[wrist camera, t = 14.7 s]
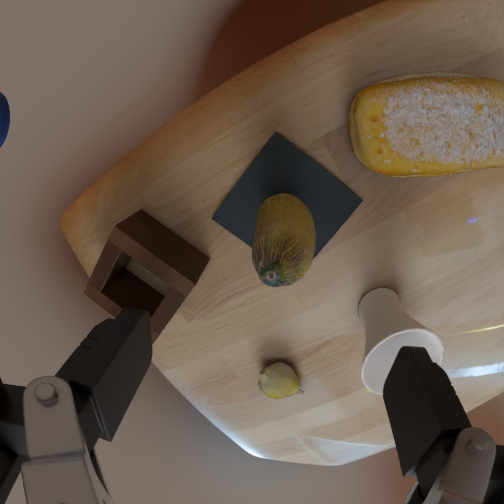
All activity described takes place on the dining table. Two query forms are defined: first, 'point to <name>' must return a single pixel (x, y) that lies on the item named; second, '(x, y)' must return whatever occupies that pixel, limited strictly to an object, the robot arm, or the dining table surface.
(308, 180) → the mat
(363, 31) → the dining table surface
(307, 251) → the vegetable
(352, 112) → the bread
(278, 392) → the fruit
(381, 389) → the cup
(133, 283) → the holder
